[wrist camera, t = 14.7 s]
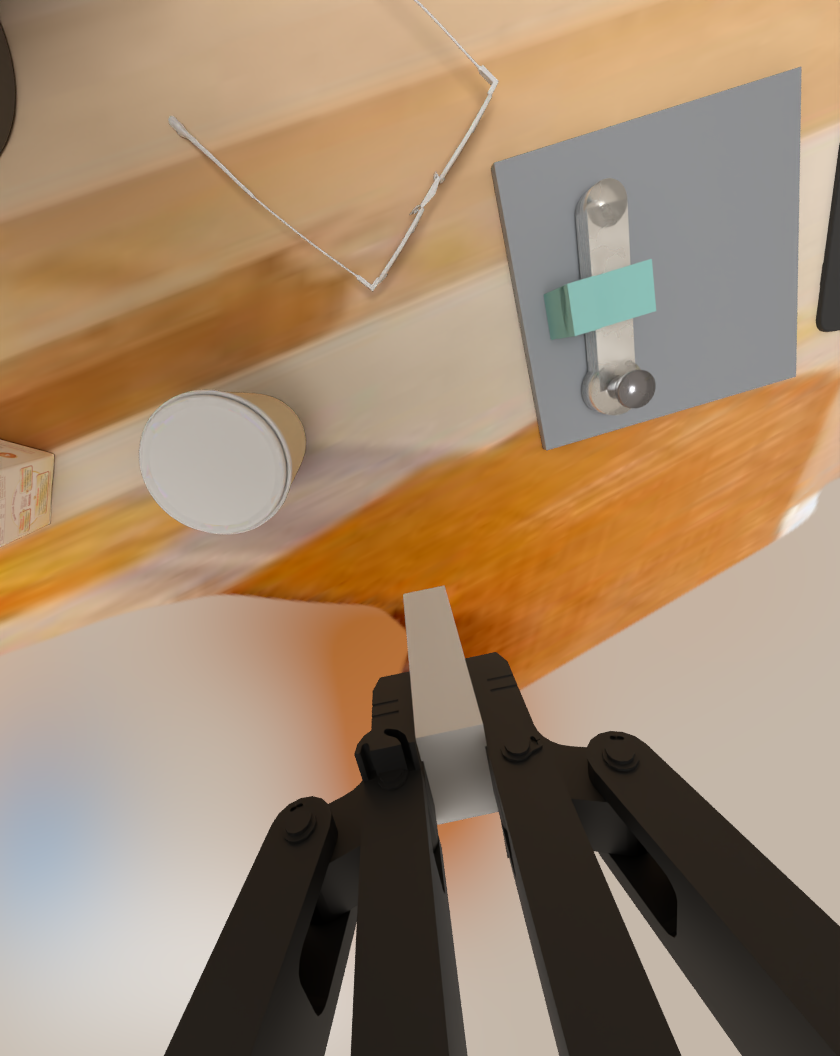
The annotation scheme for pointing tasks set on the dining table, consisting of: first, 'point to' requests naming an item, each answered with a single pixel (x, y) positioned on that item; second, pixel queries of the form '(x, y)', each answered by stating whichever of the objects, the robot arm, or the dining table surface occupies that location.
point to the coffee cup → (221, 458)
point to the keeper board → (663, 253)
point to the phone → (831, 266)
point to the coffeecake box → (24, 490)
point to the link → (611, 348)
